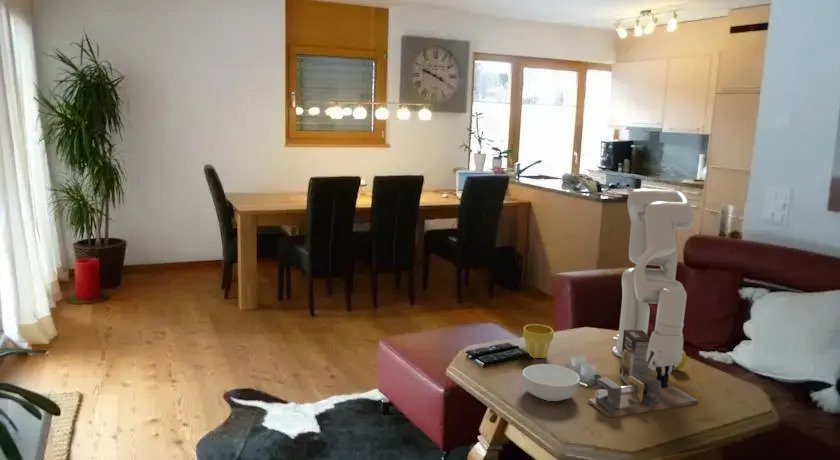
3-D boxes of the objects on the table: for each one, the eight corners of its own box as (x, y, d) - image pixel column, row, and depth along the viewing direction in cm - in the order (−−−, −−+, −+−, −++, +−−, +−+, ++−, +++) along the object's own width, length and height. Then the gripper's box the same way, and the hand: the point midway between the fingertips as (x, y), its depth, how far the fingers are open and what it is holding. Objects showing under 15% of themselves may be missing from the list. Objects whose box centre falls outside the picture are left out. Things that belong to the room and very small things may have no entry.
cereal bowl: (580, 390, 199) (582, 368, 198) (575, 413, 183) (577, 390, 182) (526, 380, 204) (527, 359, 203) (516, 402, 189) (517, 379, 187)
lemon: (686, 374, 214) (689, 351, 213) (668, 372, 215) (671, 349, 214) (683, 367, 220) (686, 345, 218) (666, 365, 221) (668, 343, 219)
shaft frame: (673, 389, 202) (676, 365, 201) (697, 403, 193) (700, 378, 191) (588, 402, 191) (590, 377, 189) (609, 417, 182) (612, 391, 180)
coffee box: (618, 376, 210) (623, 329, 207) (637, 376, 211) (642, 329, 208) (629, 388, 202) (634, 339, 198) (649, 388, 202) (654, 339, 199)
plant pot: (515, 353, 226) (517, 326, 224) (535, 347, 232) (537, 322, 230) (536, 363, 218) (539, 336, 216) (557, 357, 224) (559, 330, 222)
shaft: (650, 389, 195) (651, 375, 194) (660, 395, 191) (662, 381, 190) (592, 398, 187) (593, 383, 186) (601, 404, 183) (603, 390, 182)
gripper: (678, 321, 196) (671, 377, 199) (639, 326, 190) (633, 384, 194) (697, 330, 189) (689, 388, 193) (657, 335, 183) (650, 394, 187)
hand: (661, 385), depth 193 cm, fingers closed
